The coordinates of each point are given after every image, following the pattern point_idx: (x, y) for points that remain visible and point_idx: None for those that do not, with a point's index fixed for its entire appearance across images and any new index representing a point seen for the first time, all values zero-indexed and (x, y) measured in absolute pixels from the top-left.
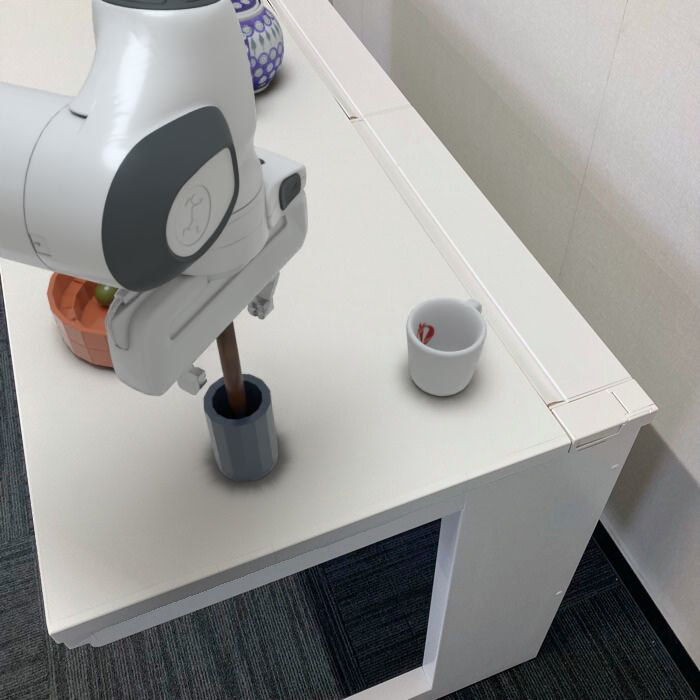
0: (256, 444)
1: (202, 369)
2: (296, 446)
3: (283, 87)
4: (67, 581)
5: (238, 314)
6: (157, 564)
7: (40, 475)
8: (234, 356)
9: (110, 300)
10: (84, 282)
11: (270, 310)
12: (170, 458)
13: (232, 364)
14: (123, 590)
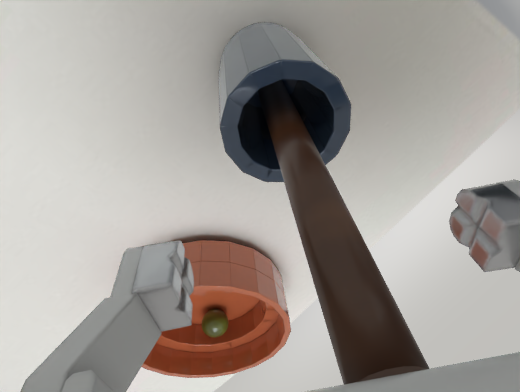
0: (299, 44)
1: (504, 230)
2: (202, 22)
3: None
4: (499, 108)
5: (418, 383)
6: (453, 42)
7: (400, 214)
8: (331, 201)
9: (220, 317)
10: (226, 342)
11: (142, 252)
12: None
13: (332, 186)
14: (496, 49)
